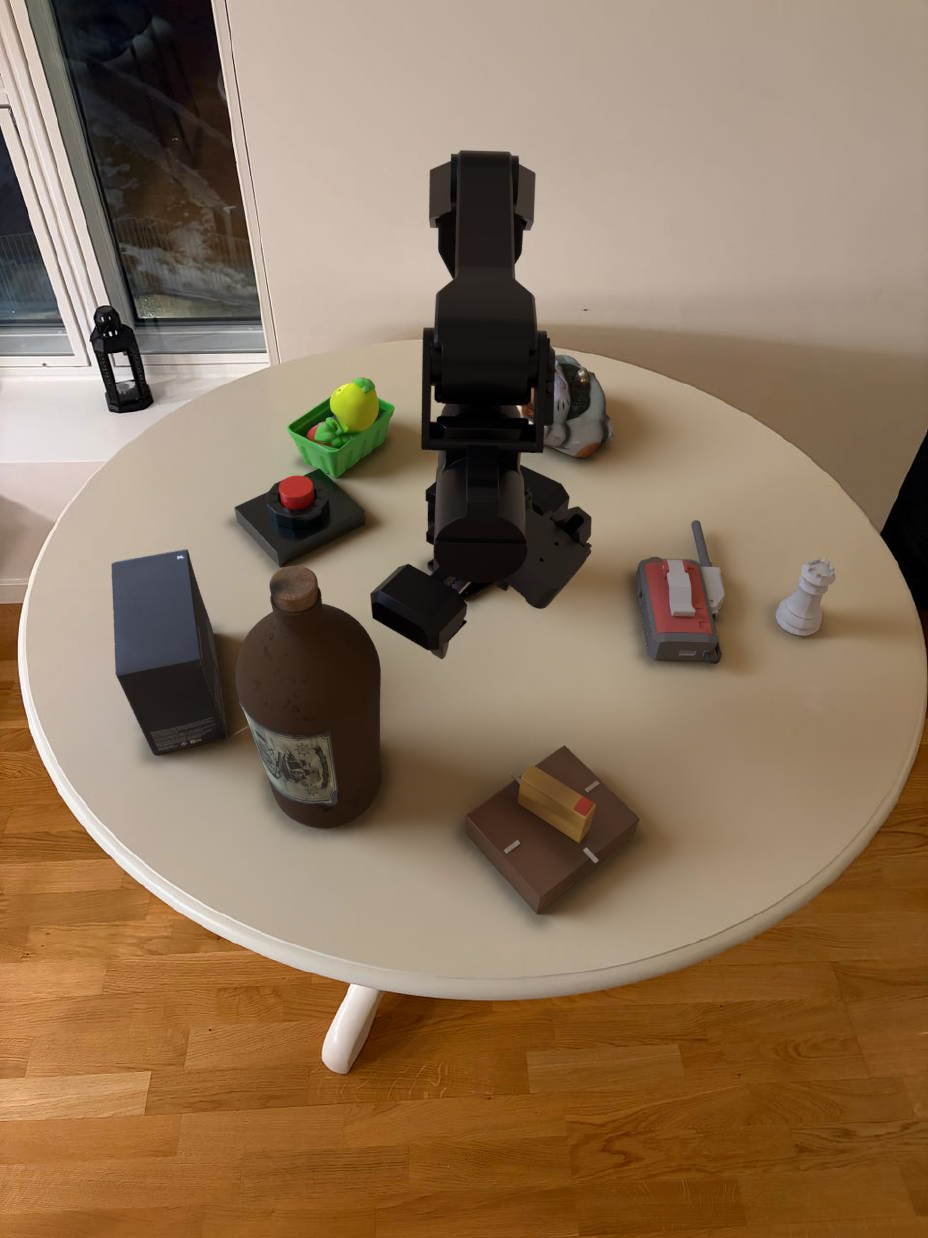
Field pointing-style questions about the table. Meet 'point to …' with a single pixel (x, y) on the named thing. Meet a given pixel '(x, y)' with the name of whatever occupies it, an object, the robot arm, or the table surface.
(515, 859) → the panel
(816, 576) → the rook chess piece
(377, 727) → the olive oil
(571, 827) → the rod knob
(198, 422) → the table surface
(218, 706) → the small box
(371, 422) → the fruit basket
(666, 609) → the walkie-talkie
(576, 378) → the lucky cat figurine
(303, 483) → the button
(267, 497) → the button block
